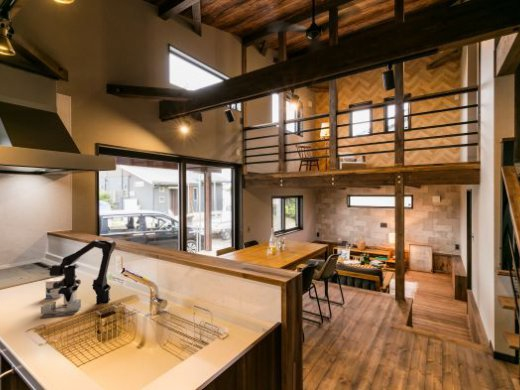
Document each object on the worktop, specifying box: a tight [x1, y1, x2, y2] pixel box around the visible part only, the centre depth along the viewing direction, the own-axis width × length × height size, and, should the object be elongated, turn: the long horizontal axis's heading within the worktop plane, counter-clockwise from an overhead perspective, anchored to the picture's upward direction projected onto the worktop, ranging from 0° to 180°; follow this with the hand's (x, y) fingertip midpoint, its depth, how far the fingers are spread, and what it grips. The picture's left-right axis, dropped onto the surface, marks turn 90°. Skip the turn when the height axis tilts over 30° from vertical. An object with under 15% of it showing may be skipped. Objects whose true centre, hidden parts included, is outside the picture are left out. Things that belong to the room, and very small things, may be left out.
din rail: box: [40, 298, 82, 320], centre depth 159 cm, size 18×12×6 cm, turn 106°
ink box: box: [45, 277, 64, 300], centre depth 182 cm, size 8×5×12 cm, turn 105°
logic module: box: [63, 289, 78, 305], centre depth 172 cm, size 5×6×6 cm
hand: (70, 299), depth 172 cm, fingers closed on logic module, 6 cm apart
